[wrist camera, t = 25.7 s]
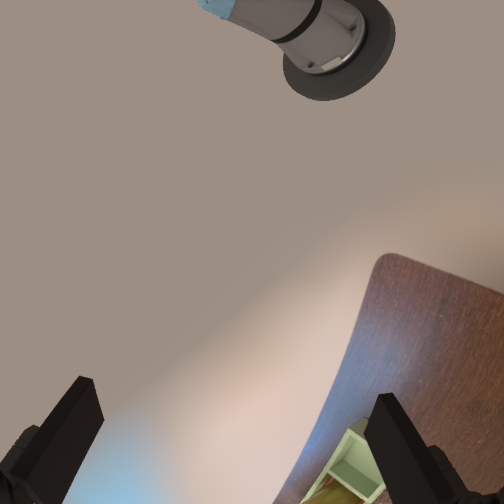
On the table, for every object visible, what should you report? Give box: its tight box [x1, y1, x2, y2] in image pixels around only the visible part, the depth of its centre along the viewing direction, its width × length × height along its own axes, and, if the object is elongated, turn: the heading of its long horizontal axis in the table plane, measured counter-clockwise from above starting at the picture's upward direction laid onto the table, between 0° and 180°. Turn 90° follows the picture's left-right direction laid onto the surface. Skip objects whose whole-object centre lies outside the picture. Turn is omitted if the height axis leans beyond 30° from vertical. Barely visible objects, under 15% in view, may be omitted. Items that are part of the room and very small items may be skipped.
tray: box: [300, 417, 386, 504], centre depth 30 cm, size 26×9×4 cm, turn 161°
